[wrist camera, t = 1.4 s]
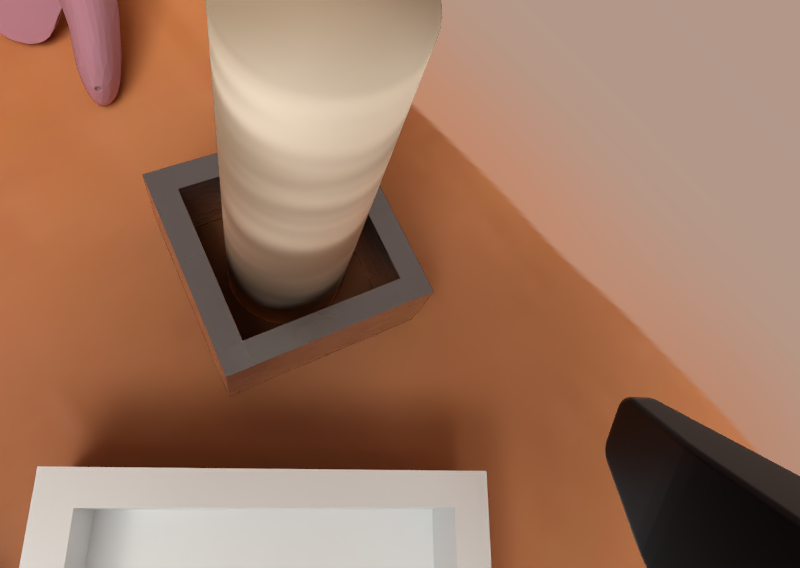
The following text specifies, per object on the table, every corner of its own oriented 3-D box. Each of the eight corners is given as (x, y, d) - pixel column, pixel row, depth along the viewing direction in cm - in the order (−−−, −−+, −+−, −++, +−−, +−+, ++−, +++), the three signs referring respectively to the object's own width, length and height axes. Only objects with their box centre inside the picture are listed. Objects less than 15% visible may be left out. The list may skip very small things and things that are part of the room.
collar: (411, 319, 23) (433, 291, 20) (228, 396, 21) (226, 377, 18) (333, 161, 25) (344, 116, 22) (155, 217, 22) (142, 174, 20)
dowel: (360, 298, 23) (481, 58, 11) (253, 341, 22) (261, 119, 10) (314, 204, 24) (382, -113, 12) (209, 239, 23) (167, -79, 11)
